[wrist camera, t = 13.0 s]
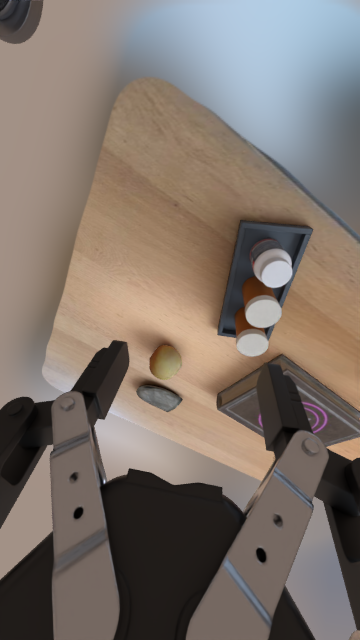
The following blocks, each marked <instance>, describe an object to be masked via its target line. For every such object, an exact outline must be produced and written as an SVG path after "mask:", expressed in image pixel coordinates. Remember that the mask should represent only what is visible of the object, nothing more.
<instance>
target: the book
mask: <svg viewBox="0 0 360 640" xmlns="http://www.w3.org/2000/svg"><path fill="white" fill-rule="evenodd" d="M269 363H272V364H279V365H280V366H281V368H282V371H283V375H288V376H290V377H291V379H292V380H293V381H294V382H295V384H296V386H297V389H298V392H299V395H300V397H301V400H302V401H301V402H302V403H303V406H304V409H305V411H306V414H307V417H308V420H309V423H310V426H311V428H312V431H313V433H314V435H316V436H317V437H318V438H319V439H320V440H321V441H322V442H323V443H324V445H325V446H326V447H327V446H331V445H334V444H337V443H341V442H344V441H348V440H351V439H354V438H358V437H360V420H359V418H360V412H359V411H358V410H356V409H355V408H354V407H352V406H351V405H350V404H348V403H347V402H346V401H344V400H343V399H342V398H340V397H339V396H338V395H336V394H335V393H334V392H332V391H331V390H330V389H328V388H327V387H326V386H324V385H323V384H322V383H320V382H319V381H318V380H316V379H315V378H314V377H312V376H311V375H309V374H308V373H307V372H305V371H304V370H303V369H301V368H300V367H299V366H297V365H296V364H295V363H293V362H292V361H291V360H289V359H288V358H287V357H285V356H284V355H283V354H281V355H280V356H278V357H277V358H275V359H273V360H272V361H270V362H269ZM262 368H263V366H262V367H260V368H259V369H257V370H256V371H254V372H252V373H251V374H249V375H248V376H246V377H244V378H243V379H241V380H240V381H238V382H236V383H235V384H233V385H232V386H230V387H228V388H227V389H225V390H223V391H222V392H220V393H219V394H218V396H217V409H218V410H219V411H221V412H222V413H224V414H226V415H227V416H229V417H231V418H232V419H234V420H236V421H237V422H239V423H241V424H242V425H244V426H246V427H247V428H249V429H251V430H252V431H254V432H256V433H257V434H259V435H261V436H262V437H264V432H263V426H262V420H261V414H260V408H259V402H258V396H257V390H256V385H257V380H258V377H259V375H260V372H261V370H262Z"/></svg>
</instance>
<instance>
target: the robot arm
mask: <svg viewBox="0 0 360 640" xmlns="http://www.w3.org/2000/svg"><path fill="white" fill-rule="evenodd" d="M17 3H18V0H0V20H3V19H6V18H8V17H9V16H10V15H11V14H12V13H13V11H14V10H15V8H16V6H17ZM128 367H129V353H128V345H127V342H123V341H117V340H113V341H112V343H111V344H110V346H109V347H108V348H102V349H101V350H100V351H98V352H97V353H96V354H95V356H94V357H93V359H92V360H91V362H90V363H89V364H88V367H86V369H85V370H84V372H83V373H82V375H81V376H80V378H79V379H78V381H77V382H76V384H75V385H74V387H73V388H72V390H71V391H70V392H66V393H64V394H62V395H60V396H59V397H58V398H57V399H56V400H53V401H46V402H39V403H34V401H33V400H32V399H31V398H29V397H20V398H16V399H14V400H12V401H10V402H8V403H7V404H6V405H5V406H3V407H2V409H1V410H0V528H1V527H2V525H3V523H4V521H5V520H6V518H7V516H8V514H9V513H10V511H11V509H12V507H13V505H14V504H15V502H16V500H17V498H18V497H19V495H20V493H21V491H22V490H23V488H24V486H25V484H26V482H27V481H28V479H29V477H30V475H31V474H32V472H33V470H34V468H35V466H36V465H37V463H38V461H39V459H40V458H41V456H42V454H43V452H44V451H45V449H46V447H47V445H52V444H53V445H54V448H53V451H52V452H51V453H50V474H51V495H52V496H51V497H52V519H53V531H52V532H51V533H50V534H49V535H48V536H47V537H46V538H45V539H44V540H43V541H42V542H40V543H39V544H38V545H37V546H36V547H35V548H34V549H33V550H32V551H31V552H30V553H29V554H28V555H26V556H25V557H24V558H23V559H22V560H21V561H20V562H19V563H18V564H17V565H16V566H15V567H14V568H13V569H11V570H10V571H9V572H8V573H7V574H6V575H5V576H4V577H3V578H2V579H1V580H0V640H315V638H314V636H313V634H312V633H311V631H310V629H309V627H308V625H307V624H306V622H305V620H304V618H303V617H302V615H301V613H300V611H299V609H298V608H297V606H296V604H295V602H294V601H293V599H292V597H291V595H290V593H289V592H288V590H287V588H286V586H285V583H286V581H287V578H288V575H289V573H290V570H291V568H292V565H293V562H294V560H295V557H296V555H297V552H298V549H299V547H300V544H301V541H302V539H303V536H304V534H305V530H306V529H307V526H308V523H309V521H310V518H311V515H312V513H313V508H314V506H313V504H312V499H313V497H314V496H315V497H316V498H318V499H320V500H322V501H323V503H324V506H325V510H326V514H327V518H328V522H329V525H330V529H331V533H332V537H333V540H334V544H335V548H336V552H337V556H338V559H339V563H340V567H341V571H342V575H343V578H344V582H345V586H346V590H347V593H348V597H349V601H350V605H351V609H352V613H353V616H354V620H355V624H356V628H357V631H355V632H353V633H352V635H351V636H350V638H349V640H360V458H356V459H355V460H353V461H351V460H349V459H347V458H345V457H343V456H341V455H338V454H336V453H334V452H332V451H331V450H329V449H327V448H326V446H325V445H324V443H323V442H322V441H321V440H320V439H319V438H318V437H317V436H316V435H314V433H313V431H312V428H311V426H310V423H309V420H308V417H307V414H306V411H305V409H304V406H303V403H302V402H301V401H302V400H301V397H300V395H299V392H298V389H297V386H296V384H295V382H294V381H293V380H292V379H291V377H290V376H288V375H283V371H282V368H281V366H280V365H279V364H272V363H264V365H263V368H262V370H261V372H260V375H259V377H258V380H257V385H256V390H257V396H258V402H259V408H260V414H261V420H262V426H263V432H264V438H265V444H266V450H268V451H273V452H274V454H275V460H274V462H273V463H272V465H271V467H270V468H269V470H268V472H267V473H266V475H265V477H264V478H263V480H262V482H261V484H260V485H259V487H258V488H257V490H256V492H255V493H254V495H253V496H252V498H251V499H250V501H249V502H248V504H247V506H246V507H245V509H244V511H243V512H242V511H241V510H240V508H239V507H238V506H237V505H236V504H235V503H234V502H233V501H232V500H230V499H229V498H228V497H226V496H225V495H223V494H222V487H218V486H213V485H208V484H204V483H190V484H181V485H172V484H170V483H168V482H167V481H165V480H163V479H161V478H160V477H158V476H156V475H154V474H152V473H150V472H145V471H140V470H135V469H129V471H128V474H127V475H123V476H119V477H116V478H114V479H112V480H110V481H108V482H107V478H106V474H105V471H104V467H103V463H102V459H101V455H100V450H99V445H98V441H97V437H96V432H95V427H94V425H95V423H96V421H97V419H105V417H106V415H107V413H108V411H109V409H110V407H111V404H112V402H113V400H114V398H115V396H116V394H117V391H118V389H119V387H120V385H121V383H122V381H123V378H124V376H125V374H126V372H127V370H128Z"/></svg>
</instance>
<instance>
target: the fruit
mask: <svg viewBox="0 0 360 640" xmlns="http://www.w3.org/2000/svg"><path fill="white" fill-rule="evenodd" d="M181 365H182V359H181V356H180V354H179V352H178V351H177V350H176V349H175V348H173V347H171V346H166V345H161V346H159V347H158V348H157V349H156V350H155V351H154V353H153V354H152V356H151V357H150V371H151V373H152V374H153V375H154V376H155V377H157V378H159V379H162V380H167V379H170V378H172V377H173V376H174V375H176V374H177V373H178V371H179V370H180V368H181Z"/></svg>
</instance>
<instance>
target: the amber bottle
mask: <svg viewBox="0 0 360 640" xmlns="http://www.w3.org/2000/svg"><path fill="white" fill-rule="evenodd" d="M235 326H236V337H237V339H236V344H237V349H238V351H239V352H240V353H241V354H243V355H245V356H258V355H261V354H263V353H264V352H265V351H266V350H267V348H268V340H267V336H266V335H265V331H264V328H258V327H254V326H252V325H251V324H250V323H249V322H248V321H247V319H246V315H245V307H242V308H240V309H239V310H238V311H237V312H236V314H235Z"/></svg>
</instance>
